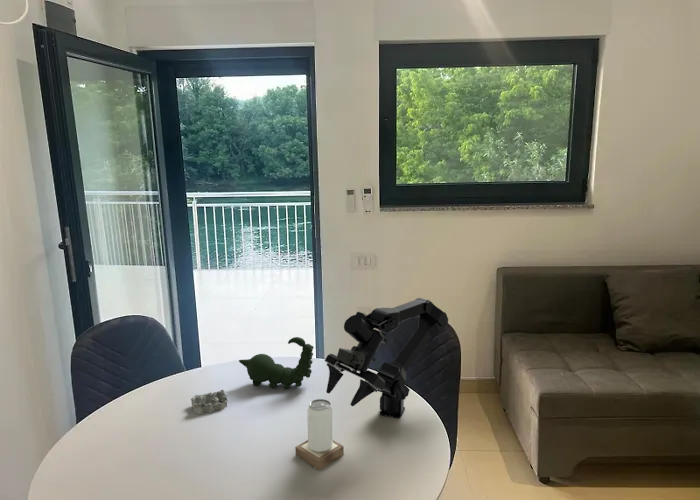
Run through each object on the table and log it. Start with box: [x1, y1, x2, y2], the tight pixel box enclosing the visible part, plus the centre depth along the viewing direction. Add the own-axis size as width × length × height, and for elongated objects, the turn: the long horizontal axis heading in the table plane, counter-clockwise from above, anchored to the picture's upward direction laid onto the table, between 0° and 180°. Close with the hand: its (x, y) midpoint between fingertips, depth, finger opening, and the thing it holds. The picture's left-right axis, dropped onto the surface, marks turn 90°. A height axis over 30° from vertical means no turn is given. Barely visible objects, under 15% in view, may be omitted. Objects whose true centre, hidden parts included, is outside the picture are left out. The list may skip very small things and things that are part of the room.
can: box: [307, 398, 334, 452], centre depth 133 cm, size 6×6×12 cm
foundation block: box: [294, 439, 345, 471], centre depth 134 cm, size 9×9×3 cm
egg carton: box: [190, 389, 229, 415], centre depth 159 cm, size 11×8×4 cm
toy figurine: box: [238, 336, 314, 390], centre depth 172 cm, size 9×19×25 cm
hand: (339, 399), depth 139 cm, fingers open, 9 cm apart
